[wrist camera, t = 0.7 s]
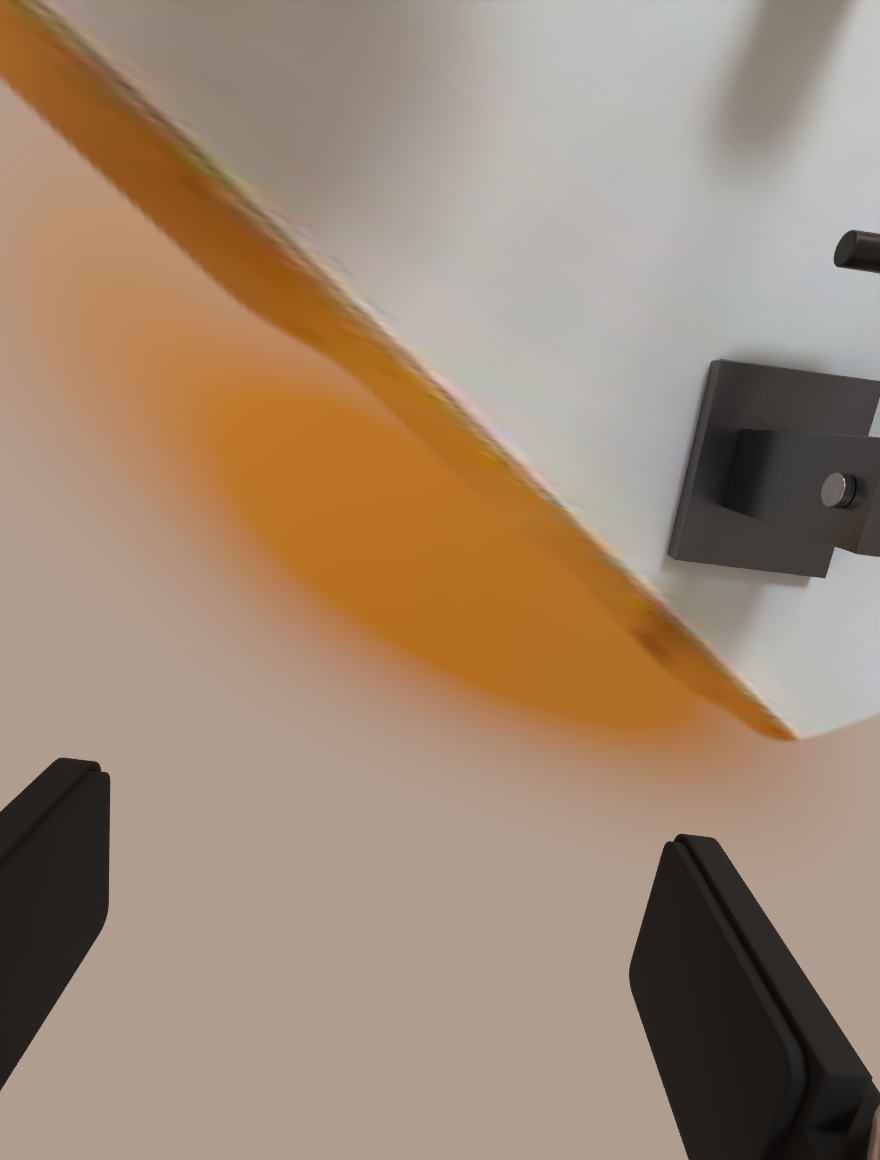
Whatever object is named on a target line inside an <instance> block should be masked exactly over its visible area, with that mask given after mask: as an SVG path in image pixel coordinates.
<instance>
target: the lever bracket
mask: <svg viewBox="0 0 880 1160" xmlns="http://www.w3.org/2000/svg"><path fill="white" fill-rule="evenodd" d="M879 398H880V381H874V380H867V379H860V378H853V377H846V376H838V375H831V374H824V373H817V372H809V371H802V370H795V369H788V368H781V367H773V366H766V365H759V364H752V363H745V362H737V361H730V360H723V359H721V360H715V361H712V363H711V368H710V372H709V376H708V381H707V385H706V389H705V394H704V398H703V402H702V407H701V411H700V416H699V420H698V424H697V429H696V433H695V437H694V442H693V446H692V450H691V455H690V459H689V464H688V468H687V472H686V477H685V481H684V485H683V490H682V494H681V498H680V503H679V507H678V512H677V516H676V520H675V525H674V529H673V533H672V538H671V542H670V546H669V551H668V555H669V556H670V557H672V558H673V559H675V560H682V561H690V562H698V563H706V564H714V565H722V566H730V567H738V568H746V569H754V570H763V571H771V572H779V573H787V574H795V575H803V576H811V577H819V578H826V574H827V571H828V568H829V564H830V561H831V558H832V554H833V551H834V548H835V547H838V548H841V549H844V550H847V551H850V552H852V553H855V554H860V555H868V556H876V557H880V437H868V434H869V431H870V428H871V424H872V421H873V418H874V414H875V411H876V408H877V404H878V401H879Z"/></svg>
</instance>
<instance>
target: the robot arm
mask: <svg viewBox="0 0 880 1160" xmlns="http://www.w3.org/2000/svg"><path fill="white" fill-rule="evenodd" d="M109 831H110V776H109V774H108V773H107V772H101V767H100V765H99V763H97V762H94V761H86V760H78V759H70V758H58V759H57V760H55V761H54V762H53V763H52V764H51V765H50V766H49V767H48V768H47V769H46V770H45V771H43V772H42V773H41V774H40V775H39V776H38V777H37V778H36V779H35V780H34V781H33V782H32V783H31V784H30V785H28V786H27V787H26V788H25V789H24V790H23V791H22V792H21V793H20V794H19V795H18V796H17V797H16V798H15V799H14V800H12V801H11V802H10V803H9V804H8V805H7V806H6V807H5V808H4V809H3V810H2V811H1V812H0V1090H1V1089H2V1087H3V1086H4V1084H5V1083H6V1081H7V1079H8V1078H9V1076H10V1075H11V1073H12V1071H13V1070H14V1068H15V1067H16V1065H17V1063H18V1062H19V1060H20V1059H21V1057H22V1056H23V1054H24V1052H25V1051H26V1049H27V1048H28V1046H29V1044H30V1043H31V1041H32V1040H33V1038H34V1037H35V1035H36V1033H37V1032H38V1030H39V1029H40V1027H41V1025H42V1024H43V1022H44V1021H45V1019H46V1018H47V1016H48V1014H49V1013H50V1011H51V1010H52V1008H53V1006H54V1005H55V1003H56V1002H57V1000H58V999H59V997H60V995H61V994H62V992H63V991H64V989H65V987H66V986H67V984H68V983H69V981H70V980H71V978H72V976H73V975H74V973H75V972H76V970H77V968H78V967H79V965H80V964H81V962H82V961H83V959H84V957H85V956H86V954H87V952H88V951H89V949H90V948H91V946H92V945H93V943H94V941H95V940H96V938H97V936H98V935H99V934H100V932H101V930H102V928H103V925H104V923H105V920H106V917H107V913H108V905H109V836H110V835H109ZM629 980H630V987H631V991H632V994H633V997H634V1000H635V1003H636V1006H637V1009H638V1012H639V1015H640V1018H641V1020H642V1024H643V1027H644V1029H645V1032H646V1035H647V1038H648V1041H649V1044H650V1047H651V1050H652V1053H653V1056H654V1059H655V1062H656V1065H657V1068H658V1071H659V1074H660V1077H661V1079H662V1083H663V1085H664V1088H665V1091H666V1094H667V1097H668V1100H669V1103H670V1106H671V1109H672V1112H673V1115H674V1118H675V1120H676V1123H677V1127H678V1129H679V1132H680V1135H681V1138H682V1141H683V1144H684V1147H685V1150H686V1153H687V1156H688V1159H689V1160H880V1093H879V1091H878V1089H877V1088H876V1087H875V1085H874V1083H873V1082H872V1076H871V1075H870V1073H869V1072H868V1070H867V1068H866V1067H865V1065H864V1064H863V1062H862V1061H861V1059H860V1058H859V1056H858V1055H857V1053H856V1052H855V1050H854V1049H853V1047H852V1046H851V1044H850V1042H849V1041H848V1039H847V1038H846V1037H845V1035H844V1033H843V1032H842V1030H841V1029H840V1027H839V1026H838V1024H837V1023H836V1021H835V1020H834V1018H833V1017H832V1015H831V1014H830V1012H829V1010H828V1009H827V1007H826V1006H825V1004H824V1003H823V1002H822V1000H821V998H820V997H819V995H818V994H817V992H816V991H815V989H814V988H813V986H812V985H811V983H810V982H809V980H808V979H807V977H806V976H805V974H804V972H803V971H802V970H801V968H800V966H799V965H798V963H797V962H796V960H795V959H794V957H793V956H792V954H791V953H790V951H789V949H788V948H787V946H786V945H785V943H784V942H783V940H782V939H781V937H780V936H779V934H778V933H777V931H776V930H775V928H774V927H773V925H772V923H771V922H770V920H769V919H768V917H767V916H766V914H765V913H764V911H763V910H762V908H761V907H760V905H759V904H758V902H757V901H756V899H755V898H754V896H753V894H752V893H751V891H750V890H749V888H748V887H747V885H746V884H745V882H744V881H743V879H742V878H741V876H740V875H739V873H738V872H737V870H736V869H735V867H734V866H733V864H732V863H731V861H730V859H729V858H728V856H727V855H726V853H725V852H724V850H723V849H722V847H721V846H720V844H719V843H718V842H717V841H716V840H715V839H714V838H711V837H703V836H695V835H687V834H679V835H677V836H676V838H675V839H674V842H671V841H669V842H667V843H666V844H665V846H664V848H663V851H662V855H661V858H660V862H659V866H658V869H657V872H656V876H655V879H654V883H653V886H652V890H651V893H650V897H649V900H648V904H647V907H646V911H645V914H644V918H643V921H642V925H641V928H640V932H639V935H638V939H637V942H636V946H635V949H634V953H633V956H632V960H631V963H630V970H629Z"/></svg>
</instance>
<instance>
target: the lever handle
mask: <svg viewBox="0 0 880 1160" xmlns="http://www.w3.org/2000/svg"><path fill="white" fill-rule="evenodd" d="M834 264H835V265H836V266H837V267H841V268H848V269H854V270H861V271H868V272H875V273H880V234H877V233H871V232H864V231H857V230H851V231H848V232H847V233H846V234H845V235H844V236H843V237H842V238H841V240H840V241H839V243H838V245H837V247H836V250H835V254H834Z"/></svg>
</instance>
